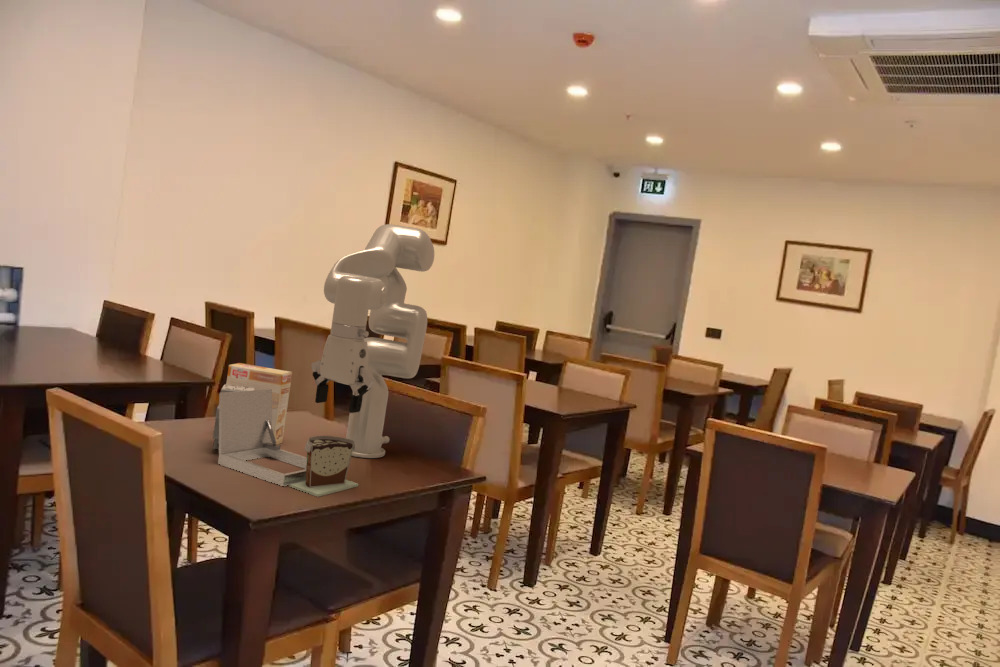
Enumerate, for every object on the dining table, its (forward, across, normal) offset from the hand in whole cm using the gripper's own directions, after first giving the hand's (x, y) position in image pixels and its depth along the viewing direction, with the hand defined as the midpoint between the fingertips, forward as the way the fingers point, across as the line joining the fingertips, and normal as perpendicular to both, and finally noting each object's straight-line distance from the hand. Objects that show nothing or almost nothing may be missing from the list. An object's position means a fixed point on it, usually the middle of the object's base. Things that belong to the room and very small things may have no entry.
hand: (337, 407), depth 168 cm
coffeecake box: (+19, +37, -14) cm, 44 cm away
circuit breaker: (+19, +33, -2) cm, 38 cm away
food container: (+18, +1, +1) cm, 18 cm away
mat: (+18, 0, +1) cm, 18 cm away
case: (+18, +16, +1) cm, 24 cm away
